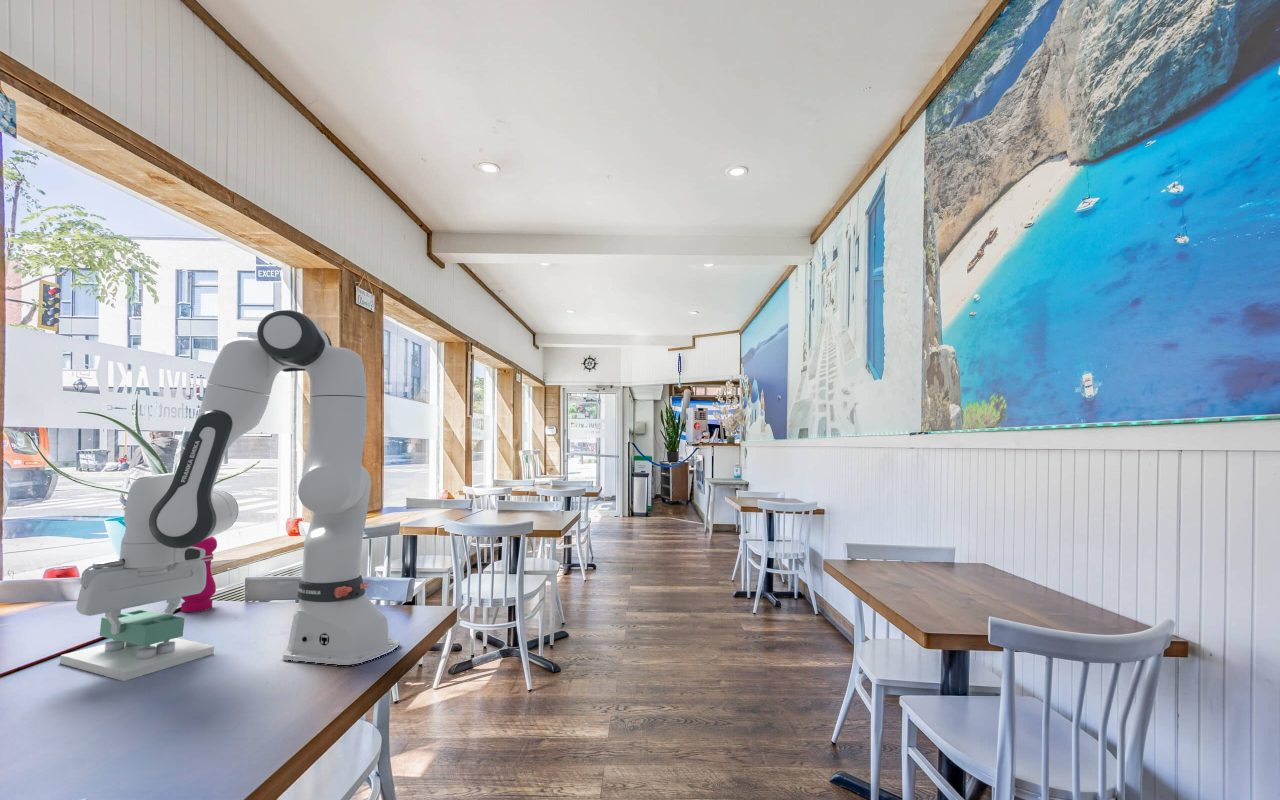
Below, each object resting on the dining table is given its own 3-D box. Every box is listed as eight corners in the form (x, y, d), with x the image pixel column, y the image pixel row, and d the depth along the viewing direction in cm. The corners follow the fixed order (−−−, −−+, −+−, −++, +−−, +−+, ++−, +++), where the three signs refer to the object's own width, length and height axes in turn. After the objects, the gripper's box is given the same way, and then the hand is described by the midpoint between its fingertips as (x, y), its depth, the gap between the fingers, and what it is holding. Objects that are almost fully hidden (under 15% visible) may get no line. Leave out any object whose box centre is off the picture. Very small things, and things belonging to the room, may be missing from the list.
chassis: (213, 653, 114) (216, 618, 114) (123, 681, 100) (128, 641, 100) (151, 639, 121) (154, 606, 122) (59, 663, 107) (64, 626, 108)
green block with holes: (182, 636, 111) (184, 617, 112) (144, 646, 105) (146, 627, 106) (138, 626, 116) (140, 609, 117) (99, 635, 110) (101, 617, 111)
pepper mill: (194, 614, 140) (202, 531, 141) (170, 611, 141) (178, 530, 143) (221, 606, 147) (228, 528, 149) (198, 604, 148) (205, 526, 150)
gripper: (93, 566, 101) (84, 646, 100) (213, 549, 120) (207, 615, 119) (73, 563, 104) (64, 640, 102) (194, 546, 123) (188, 612, 121)
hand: (142, 627), depth 111 cm, fingers closed on green block with holes, 6 cm apart
